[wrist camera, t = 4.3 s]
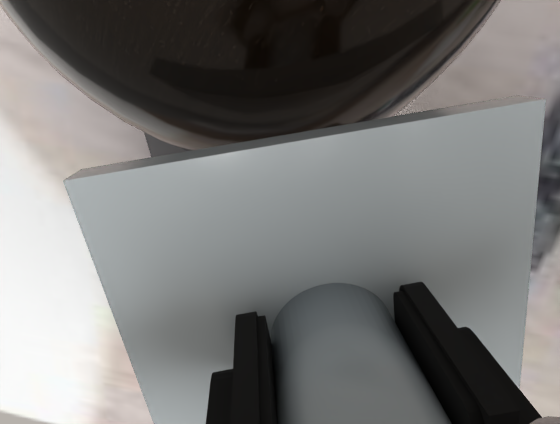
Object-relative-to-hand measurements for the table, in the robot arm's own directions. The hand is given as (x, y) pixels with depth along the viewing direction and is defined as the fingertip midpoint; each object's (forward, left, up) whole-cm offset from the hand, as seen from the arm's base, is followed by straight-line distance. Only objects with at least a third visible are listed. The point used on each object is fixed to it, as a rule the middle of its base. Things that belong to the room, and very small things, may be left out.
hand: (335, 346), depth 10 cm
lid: (0, 0, -2) cm, 2 cm away
